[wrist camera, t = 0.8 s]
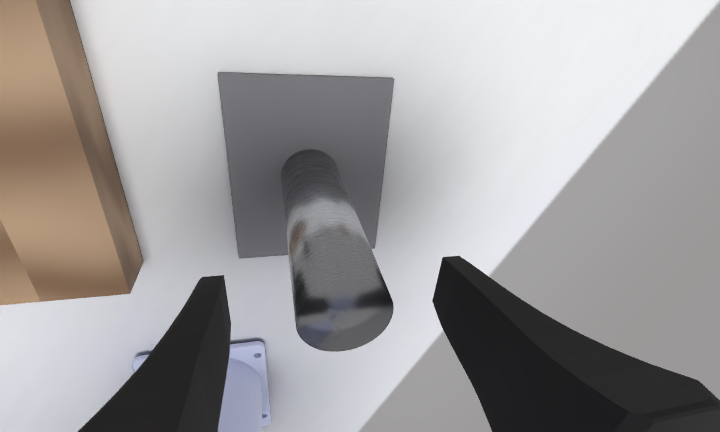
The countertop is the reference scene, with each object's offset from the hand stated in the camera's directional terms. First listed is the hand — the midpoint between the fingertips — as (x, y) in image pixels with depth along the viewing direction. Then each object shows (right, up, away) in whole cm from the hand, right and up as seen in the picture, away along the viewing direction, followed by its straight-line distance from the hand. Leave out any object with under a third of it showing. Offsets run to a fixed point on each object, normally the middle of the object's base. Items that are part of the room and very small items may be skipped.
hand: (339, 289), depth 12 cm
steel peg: (-2, +4, +7) cm, 9 cm away
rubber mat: (-2, +5, +7) cm, 9 cm away
